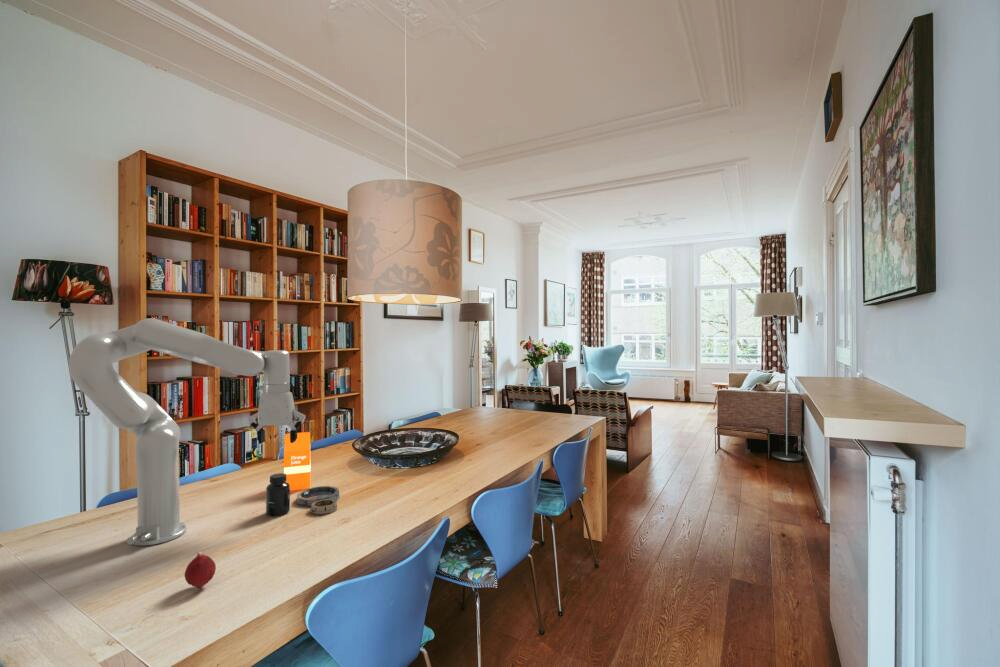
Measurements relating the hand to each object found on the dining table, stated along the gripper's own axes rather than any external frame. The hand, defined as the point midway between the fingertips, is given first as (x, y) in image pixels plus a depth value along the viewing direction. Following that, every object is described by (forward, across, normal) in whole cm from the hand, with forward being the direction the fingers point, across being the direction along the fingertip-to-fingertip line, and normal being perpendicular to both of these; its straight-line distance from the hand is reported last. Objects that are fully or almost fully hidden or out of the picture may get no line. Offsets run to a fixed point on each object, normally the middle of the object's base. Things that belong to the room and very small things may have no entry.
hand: (277, 442), depth 144 cm
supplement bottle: (+23, 0, 0) cm, 23 cm away
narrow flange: (+22, +14, 0) cm, 27 cm away
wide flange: (+22, +9, +10) cm, 26 cm away
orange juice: (+23, -3, +25) cm, 34 cm away
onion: (+23, 0, -42) cm, 48 cm away
